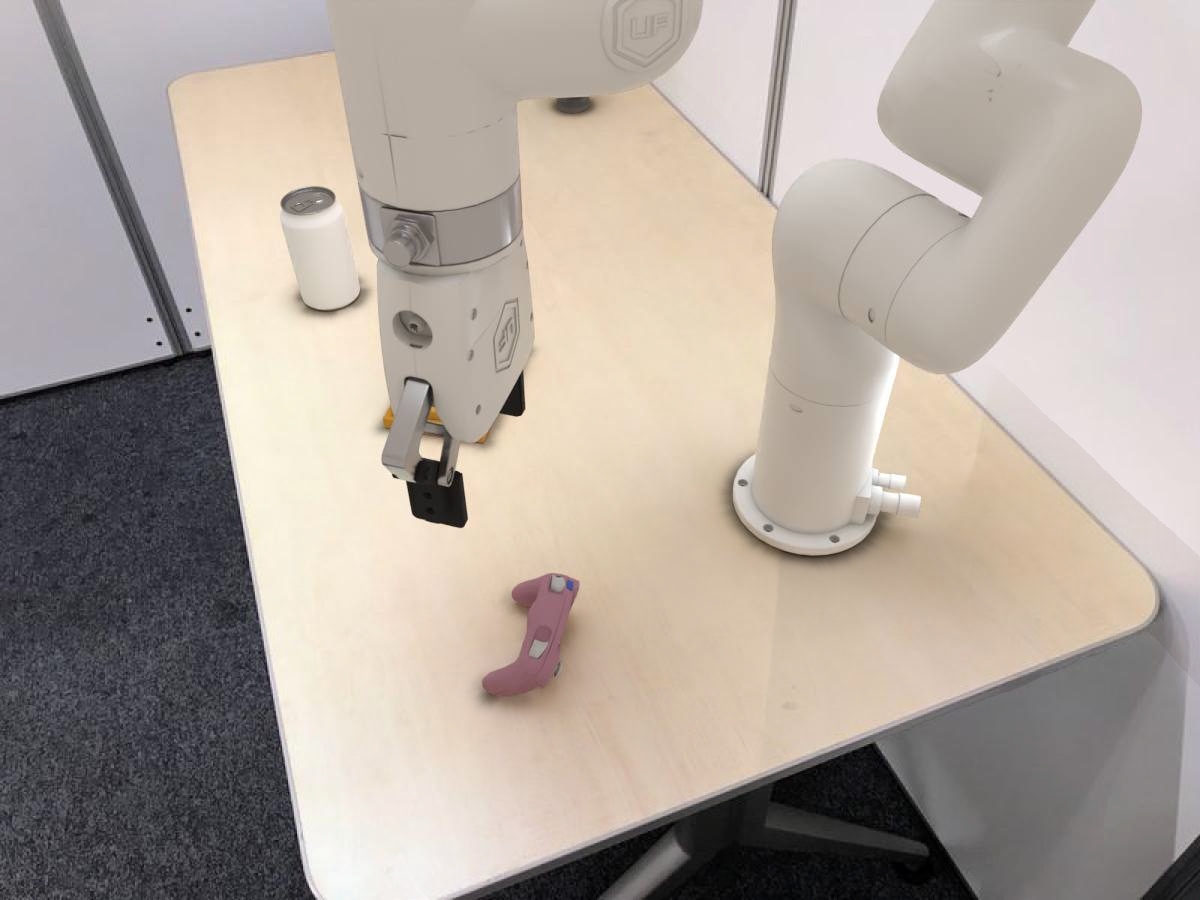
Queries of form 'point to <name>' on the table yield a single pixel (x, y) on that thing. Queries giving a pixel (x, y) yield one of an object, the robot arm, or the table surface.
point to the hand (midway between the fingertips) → (472, 461)
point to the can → (319, 248)
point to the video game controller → (537, 635)
